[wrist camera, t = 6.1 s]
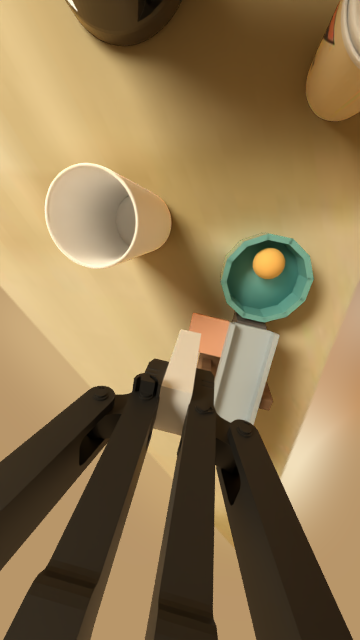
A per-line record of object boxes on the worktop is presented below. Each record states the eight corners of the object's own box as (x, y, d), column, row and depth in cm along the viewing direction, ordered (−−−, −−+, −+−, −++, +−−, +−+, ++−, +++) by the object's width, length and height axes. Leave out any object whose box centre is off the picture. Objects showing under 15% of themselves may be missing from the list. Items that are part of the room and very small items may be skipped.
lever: (193, 311, 36) (192, 314, 32) (273, 330, 35) (281, 335, 32) (164, 435, 39) (160, 451, 35) (237, 455, 38) (241, 472, 34)
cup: (177, 198, 34) (146, 175, 19) (164, 258, 37) (130, 279, 22) (119, 184, 35) (45, 151, 20) (111, 244, 38) (42, 256, 23)
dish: (233, 226, 34) (235, 226, 30) (314, 243, 34) (327, 246, 30) (213, 302, 38) (213, 310, 34) (285, 319, 38) (293, 329, 34)
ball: (249, 264, 36) (258, 238, 33) (277, 270, 36) (289, 245, 33) (248, 281, 33) (258, 256, 30) (278, 288, 33) (291, 263, 30)
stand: (212, 305, 39) (211, 323, 31) (284, 321, 38) (300, 344, 30) (187, 403, 45) (181, 438, 38) (247, 419, 45) (253, 457, 37)
